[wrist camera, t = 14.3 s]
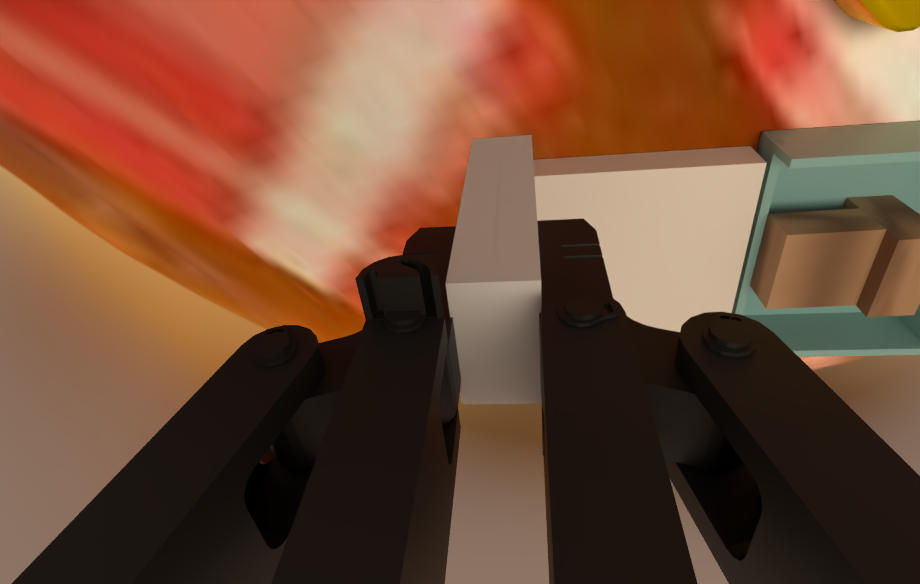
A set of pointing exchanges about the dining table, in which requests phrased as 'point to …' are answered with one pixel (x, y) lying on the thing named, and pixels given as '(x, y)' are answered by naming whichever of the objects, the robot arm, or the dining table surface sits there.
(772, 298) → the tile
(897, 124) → the tray
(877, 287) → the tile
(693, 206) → the board
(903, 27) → the element tile
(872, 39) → the dining table surface
